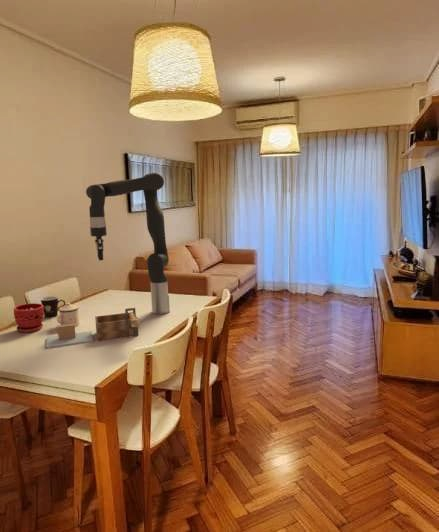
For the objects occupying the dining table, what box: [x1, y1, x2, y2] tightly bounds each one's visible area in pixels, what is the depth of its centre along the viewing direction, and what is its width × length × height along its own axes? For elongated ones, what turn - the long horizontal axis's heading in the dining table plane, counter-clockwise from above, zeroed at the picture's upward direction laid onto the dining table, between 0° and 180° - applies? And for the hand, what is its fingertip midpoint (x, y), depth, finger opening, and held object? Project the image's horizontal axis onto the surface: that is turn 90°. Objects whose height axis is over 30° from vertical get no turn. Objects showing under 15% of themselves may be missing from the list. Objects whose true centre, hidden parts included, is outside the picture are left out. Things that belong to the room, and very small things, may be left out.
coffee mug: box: [40, 295, 66, 319], centre depth 212 cm, size 12×9×10 cm
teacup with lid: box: [56, 302, 80, 328], centre depth 194 cm, size 12×9×12 cm
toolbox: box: [94, 307, 139, 342], centre depth 180 cm, size 18×13×13 cm
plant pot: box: [13, 302, 44, 333], centre depth 190 cm, size 13×13×12 cm
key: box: [128, 311, 140, 328], centre depth 167 cm, size 3×13×3 cm, turn 20°
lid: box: [45, 323, 94, 350], centre depth 175 cm, size 19×13×7 cm
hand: (100, 258), depth 193 cm, fingers open, 8 cm apart
